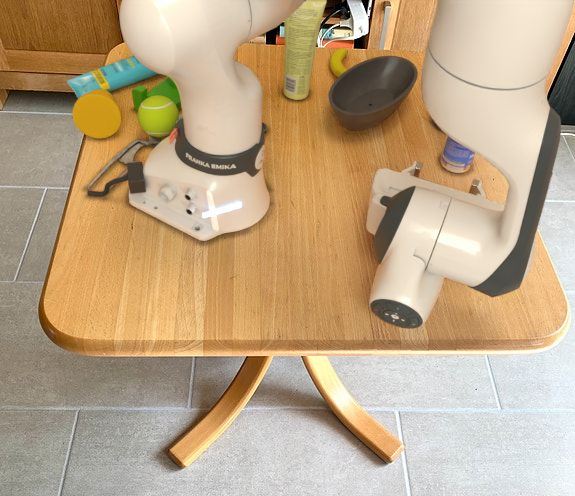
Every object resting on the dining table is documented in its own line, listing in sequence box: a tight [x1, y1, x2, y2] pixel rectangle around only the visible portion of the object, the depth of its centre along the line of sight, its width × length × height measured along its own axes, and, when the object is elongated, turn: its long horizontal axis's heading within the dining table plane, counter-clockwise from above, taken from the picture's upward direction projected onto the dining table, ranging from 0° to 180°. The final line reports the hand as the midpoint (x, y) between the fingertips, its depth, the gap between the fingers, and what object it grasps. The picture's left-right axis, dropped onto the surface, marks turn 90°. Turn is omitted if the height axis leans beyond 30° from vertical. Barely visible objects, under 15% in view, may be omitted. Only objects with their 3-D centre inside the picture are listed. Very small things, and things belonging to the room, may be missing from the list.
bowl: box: [328, 55, 419, 132], centre depth 114 cm, size 12×22×6 cm, turn 140°
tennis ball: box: [137, 95, 180, 138], centre depth 105 cm, size 7×7×7 cm
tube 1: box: [66, 54, 160, 100], centre depth 117 cm, size 7×5×19 cm
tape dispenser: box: [131, 76, 182, 112], centre depth 114 cm, size 15×7×5 cm, turn 148°
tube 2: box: [282, 0, 328, 101], centre depth 111 cm, size 6×5×20 cm
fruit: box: [329, 47, 349, 78], centre depth 124 cm, size 10×2×5 cm
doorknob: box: [71, 89, 123, 139], centre depth 107 cm, size 8×8×8 cm
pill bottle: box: [440, 135, 476, 174], centre depth 104 cm, size 5×5×10 cm
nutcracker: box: [86, 135, 161, 191], centre depth 103 cm, size 16×1×5 cm
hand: (447, 174), depth 96 cm, fingers open, 8 cm apart
